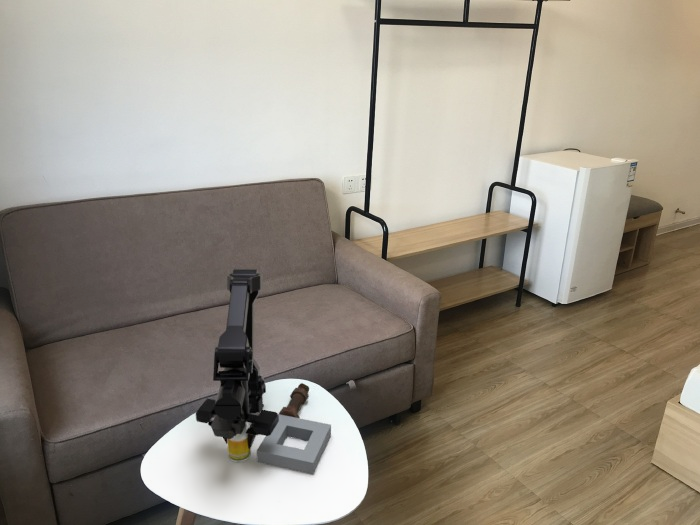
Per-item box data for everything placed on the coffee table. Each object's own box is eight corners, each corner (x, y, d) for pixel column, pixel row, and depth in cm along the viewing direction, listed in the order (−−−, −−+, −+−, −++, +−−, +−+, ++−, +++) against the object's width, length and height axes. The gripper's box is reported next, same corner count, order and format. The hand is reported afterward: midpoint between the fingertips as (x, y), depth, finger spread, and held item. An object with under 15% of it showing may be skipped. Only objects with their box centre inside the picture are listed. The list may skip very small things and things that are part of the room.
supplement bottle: (226, 450, 140) (224, 418, 137) (248, 445, 142) (246, 413, 138) (230, 465, 136) (227, 432, 132) (252, 460, 138) (251, 427, 134)
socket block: (257, 462, 137) (256, 450, 136) (279, 425, 149) (278, 414, 148) (313, 474, 134) (313, 462, 132) (330, 435, 146) (331, 424, 145)
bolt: (306, 399, 163) (290, 431, 149) (291, 389, 163) (273, 421, 149) (316, 385, 161) (300, 417, 147) (301, 375, 161) (284, 406, 147)
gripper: (180, 404, 127) (186, 460, 133) (259, 420, 122) (261, 477, 129) (204, 376, 137) (209, 429, 143) (278, 390, 132) (280, 444, 138)
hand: (239, 445), depth 138 cm, fingers closed on supplement bottle, 5 cm apart
